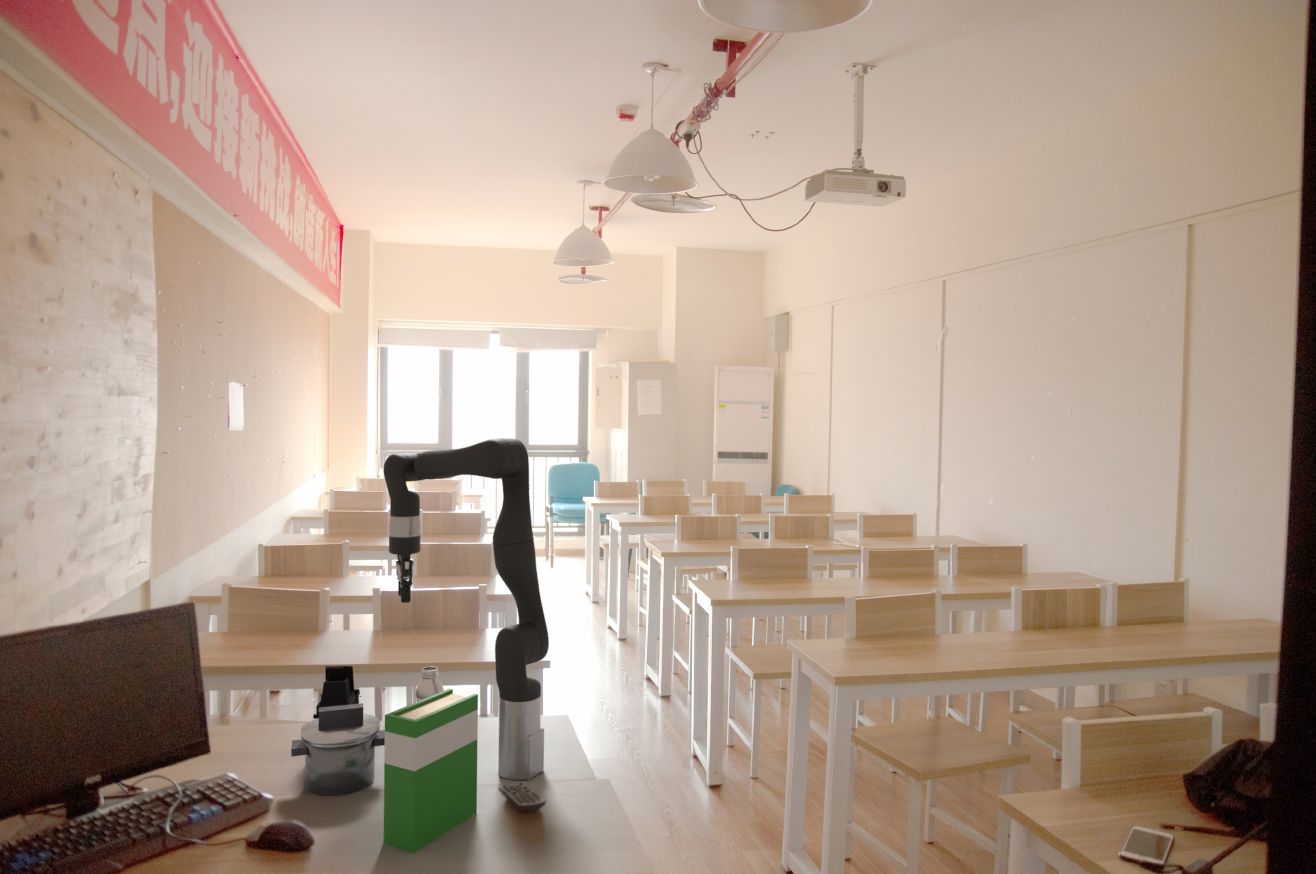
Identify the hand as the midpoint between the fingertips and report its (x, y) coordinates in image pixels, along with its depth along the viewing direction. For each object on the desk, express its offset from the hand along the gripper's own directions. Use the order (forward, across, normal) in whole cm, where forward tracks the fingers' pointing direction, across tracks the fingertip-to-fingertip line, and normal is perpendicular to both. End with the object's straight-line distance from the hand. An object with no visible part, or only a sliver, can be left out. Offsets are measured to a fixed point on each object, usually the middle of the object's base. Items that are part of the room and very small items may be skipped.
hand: (404, 598), depth 208 cm
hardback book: (+34, -51, -1) cm, 61 cm away
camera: (+34, -4, +15) cm, 38 cm away
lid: (+23, -23, +15) cm, 36 cm away
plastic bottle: (+34, -13, -5) cm, 37 cm away
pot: (+34, -23, +15) cm, 44 cm away
